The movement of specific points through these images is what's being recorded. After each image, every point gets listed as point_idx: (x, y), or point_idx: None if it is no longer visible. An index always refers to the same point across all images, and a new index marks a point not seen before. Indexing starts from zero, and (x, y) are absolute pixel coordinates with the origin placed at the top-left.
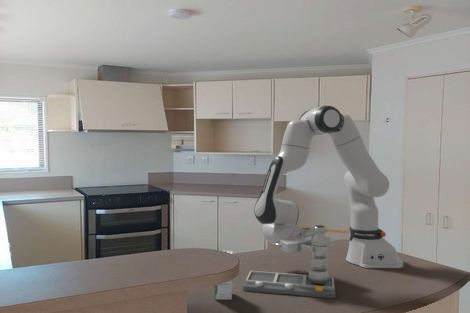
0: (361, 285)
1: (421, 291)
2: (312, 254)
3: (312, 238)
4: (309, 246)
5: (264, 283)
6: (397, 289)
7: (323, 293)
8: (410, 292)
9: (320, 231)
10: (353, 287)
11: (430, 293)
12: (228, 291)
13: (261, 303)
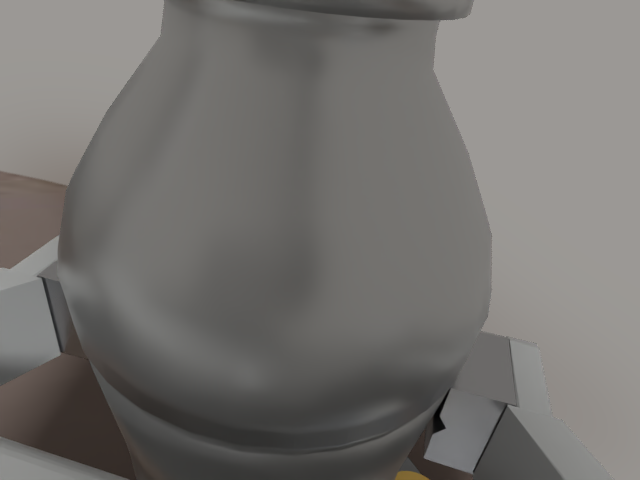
0: (32, 378)
1: (26, 197)
2: (398, 470)
3: (474, 229)
4: (532, 386)
5: None
6: (34, 249)
7: (416, 471)
8: (56, 217)
9: None
10: (97, 404)
11: (39, 181)
12: None
13: None
